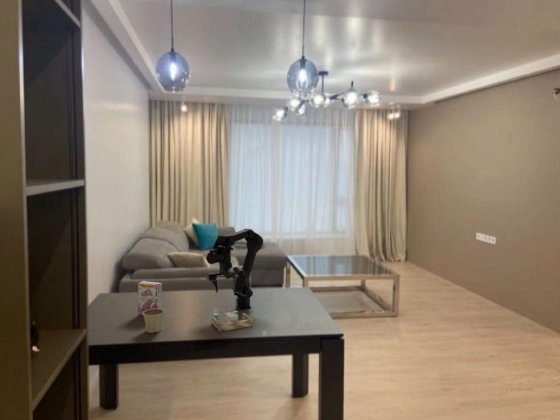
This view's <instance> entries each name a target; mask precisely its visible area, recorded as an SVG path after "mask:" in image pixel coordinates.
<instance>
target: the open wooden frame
mask: <svg viewBox="0 0 560 420" xmlns="http://www.w3.org/2000/svg"><path fill="white" fill-rule="evenodd" d="M241 315H242V316H241V317H242V320H238V321H235V322H228V323H226V322H223V323H220V322H219V321H217V320H216V319H215V318H214V317H213V316H212V318H211V321H212V323H211V324H212V325H213V326H214V328H215V327H216V328H217V329H218V330H219V332H223V331H222V330H224V331H228V330H229V329H230V330H236V329H242V328H246V327H247V328H249V327H253V319H252V318H251V316H249V315H248V314H246V313H245V312H242V314H241ZM216 328H215V329H216ZM217 329H216V330H217ZM218 330H217V331H218ZM230 330H229V331H230Z"/></svg>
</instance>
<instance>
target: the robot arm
mask: <svg viewBox="0 0 560 420" xmlns="http://www.w3.org/2000/svg"><path fill="white" fill-rule="evenodd" d="M242 240H244V241H245V242H246V245H245V246H246V248H247V249H246V250H247V251H246V254H245V257H244V261H243V265H242V267H241V268H240V267H238V266H235V267H234V266H233V263H232V252H231V251H234V247H232V246H234V245H235V243H236V242H238V241H242ZM263 243H264V238H263V237H262V236H261V235H260V234H258V233H257V232H255V231H254V230H253V229H252V228H243V229H242V230H238V231H235V232H233V233H230V234H229V233H227V234H226V233H225V234H219V235H218V236H217V238H216V240H215V243H214V244H213V247H212V249H209V252H208V253H207V254H206V257H205V258H206V261H207V263H208V264H209V265H215V264H218V265H219V269H218V272H217V273H215V272H214V271H209V272H206V273H205V279H206V280H207V281H209V282H211V283H212V285H213V288H214V290H215V293H216V294H218V291H219V289H218V280H217V279H218V278H223V277H225V279H227V280H228V279H232V281H233V282H232V291H233V295H234V296H235V297H236V298H235V307H236V308H237V309H239V310H246V309H252V306H251V298H252V296H253V294H254V291H253V290H252V289H251V282H250V275H251V272H252V269H253V266H254V262H255V260H256V257H257V253H259V251H260V250H261V249H262V246H263Z"/></svg>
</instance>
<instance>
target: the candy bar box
mask: <svg viewBox="0 0 560 420" xmlns="http://www.w3.org/2000/svg"><path fill="white" fill-rule="evenodd" d="M162 283H163V282H162ZM162 283H161V282H155V281H147V280H143V281H140V282H138V283H137V301H138V302H137V304H138V305H137V308H138V309H137V310H138V316H143V314H142V312H143V311H145V310H149V309H163V284H162ZM143 317H144V316H143Z"/></svg>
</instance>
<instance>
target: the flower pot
mask: <svg viewBox="0 0 560 420" xmlns="http://www.w3.org/2000/svg"><path fill="white" fill-rule="evenodd" d="M164 313H165V310H164V309H163V308H162V309H149V310H145V311H143V312H142V314H143V318H144V323H145V331H146V332H147V333H150V334H154V333H159V332H160V331H162V324H163V316H164Z"/></svg>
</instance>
